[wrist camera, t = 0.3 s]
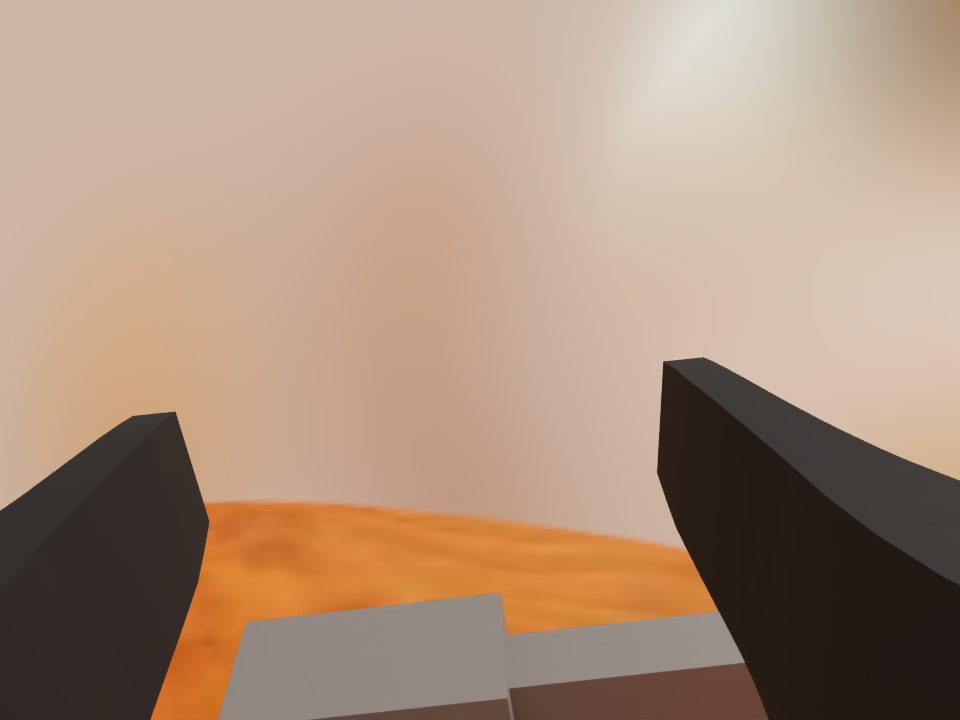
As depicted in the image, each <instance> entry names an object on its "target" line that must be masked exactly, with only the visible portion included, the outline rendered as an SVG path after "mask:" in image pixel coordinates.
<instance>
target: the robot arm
mask: <svg viewBox="0 0 960 720" xmlns="http://www.w3.org/2000/svg"><path fill="white" fill-rule="evenodd" d="M657 473H658V477H659V480H660V483H661V486H662V489H663V492H664V494H665V497H666V501H667V503H668V506H669V509H670V512H671V514H672V517H673V520H674V523H675V526H676V528H677V530H678V532H679V534H680V536H681V539H682V540H683V542H684V545H685V547H686V548H687V550H688V552H689V554H690V556H691V558H692V560H693V562H694V564H695V566H696V568H697V570H698V572H699V574H700V576H701V578H702V580H703V582H704V584H705V586H706V588H707V590H708V591H709V593H710V595H711V597H712V599H713V601H714V603H715V605H716V607H717V609H718V611H719V613H720V615H721V617H722V618H723V620H724V622H725V624H726V626H727V628H728V630H729V632H730V634H731V636H732V638H733V640H734V642H735V644H736V646H737V647H738V649H739V651H740V653H741V655H742V658H743V660H744V662H745V664H746V666H747V668H748V671H749V673H750V675H751V677H752V679H753V681H754V684H755V686H756V689H757V691H758V694H759V696H760V699H761V702H762V704H763V707H764V709H765V712H766V714H767V717H768V719H769V720H960V481H959V480H957V479H954V478H951V477H949V476H946V475H944V474H941V473H939V472H936V471H933V470H931V469H928V468H926V467H923V466H921V465H918V464H915V463H913V462H910V461H908V460H906V459H903V458H901V457H899V456H896V455H893V454H892V453H889V452H887V451H885V450H882V449H880V448H878V447H876V446H874V445H872V444H869V443H867V442H865V441H863V440H861V439H859V438H857V437H855V436H853V435H850V434H848V433H846V432H844V431H842V430H840V429H838V428H836V427H834V426H832V425H830V424H828V423H826V422H824V421H822V420H820V419H818V418H816V417H814V416H812V415H810V414H809V413H807V412H805V411H803V410H801V409H799V408H797V407H795V406H794V405H792V404H790V403H788V402H786V401H784V400H782V399H781V398H779V397H777V396H775V395H774V394H772V393H770V392H768V391H766V390H765V389H763V388H761V387H759V386H758V385H756V384H754V383H752V382H750V381H749V380H747V379H745V378H743V377H741V376H740V375H738V374H736V373H734V372H732V371H730V370H729V369H727V368H725V367H723V366H721V365H719V364H717V363H715V362H713V361H711V360H708V359H706V358H704V357H703V358H693V359H684V360H675V361H664V362H663V377H662V396H661V413H660V431H659V448H658V466H657ZM208 527H209V519H208V515H207V512H206V509H205V506H204V503H203V499H202V496H201V493H200V490H199V486H198V483H197V480H196V477H195V474H194V470H193V467H192V464H191V460H190V457H189V454H188V451H187V448H186V444H185V441H184V438H183V435H182V431H181V428H180V425H179V422H178V418H177V415H176V412H168V413H158V414H148V415H138V416H132V417H131V418H129V419H127V420H126V421H124V422H122V423H121V424H119V425H118V426H116V427H115V428H113V429H112V430H110V431H109V432H107V433H106V434H105V435H103V436H102V437H100V438H99V439H98V440H96V441H95V442H94V443H92V444H91V445H89V446H88V447H87V448H86V449H84V450H83V451H81V452H80V453H79V454H77V455H76V456H75V457H73V458H72V459H71V460H69V461H68V462H67V463H65V464H64V465H63V466H61V467H60V468H59V469H57V470H56V471H55V472H53V473H52V474H51V475H49V476H48V477H47V478H45V479H44V480H42V481H41V482H40V483H38V484H37V485H36V486H34V487H33V488H32V489H30V490H29V491H28V492H26V493H25V494H24V495H22V496H21V497H20V498H18V499H17V500H15V501H14V502H13V503H11V504H9V505H8V506H6V507H5V508H4V509H2V510H1V511H0V720H150V719H151V716H152V713H153V710H154V708H155V705H156V702H157V699H158V696H159V693H160V691H161V688H162V685H163V682H164V679H165V676H166V673H167V671H168V668H169V665H170V662H171V659H172V656H173V654H174V651H175V648H176V645H177V642H178V639H179V637H180V634H181V631H182V628H183V625H184V622H185V619H186V616H187V613H188V610H189V607H190V604H191V602H192V599H193V596H194V592H195V589H196V586H197V583H198V579H199V574H200V570H201V565H202V560H203V555H204V550H205V544H206V538H207V532H208Z"/></svg>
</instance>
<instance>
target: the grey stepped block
mask: <svg viewBox="0 0 960 720" xmlns="http://www.w3.org/2000/svg"><path fill="white" fill-rule="evenodd" d="M218 720H769V719H768V717H767V714H766V712H765V709H764V707H763V704H762V702H761V699H760V696H759V694H758V691H757V689H756V686H755V684H754V681H753V679H752V677H751V675H750V673H749V671H748V668H747V666H746V664H745V662H744V660H743V658H742V655H741V653H740V651H739V649H738V647H737V646H736V644H735V642H734V640H733V638H732V636H731V634H730V632H729V630H728V628H727V626H726V624H725V622H724V620H723V618H722V617H721V615H720V613H719V612H711V613H702V614H693V615H684V616H675V617H667V618H658V619H649V620H640V621H631V622H622V623H614V624H605V625H596V626H587V627H578V628H569V629H560V630H552V631H543V632H534V633H525V634H516V635H508V632H507V626H506V621H505V615H504V610H503V604H502V599H501V593H493V594H485V595H476V596H467V597H459V598H450V599H442V600H433V601H424V602H416V603H407V604H398V605H390V606H381V607H372V608H364V609H355V610H347V611H338V612H329V613H321V614H312V615H303V616H295V617H286V618H277V619H269V620H260V621H252V622H246V625H245V629H244V632H243V636H242V639H241V643H240V646H239V649H238V653H237V656H236V660H235V663H234V667H233V670H232V674H231V677H230V681H229V684H228V688H227V691H226V694H225V698H224V701H223V705H222V708H221V712H220V715H219V719H218Z"/></svg>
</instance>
